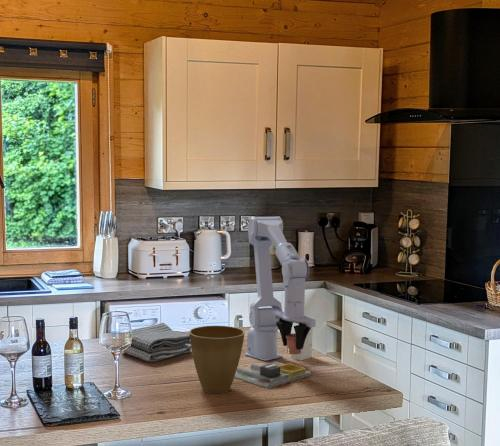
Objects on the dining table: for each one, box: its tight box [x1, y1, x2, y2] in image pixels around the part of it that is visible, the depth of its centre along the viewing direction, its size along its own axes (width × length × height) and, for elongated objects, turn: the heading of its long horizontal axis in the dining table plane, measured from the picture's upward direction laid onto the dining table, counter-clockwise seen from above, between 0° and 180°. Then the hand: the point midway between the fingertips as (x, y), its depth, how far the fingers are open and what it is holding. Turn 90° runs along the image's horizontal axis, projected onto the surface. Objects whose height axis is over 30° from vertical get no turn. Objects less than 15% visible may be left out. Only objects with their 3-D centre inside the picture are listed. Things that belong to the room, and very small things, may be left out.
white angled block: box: [291, 327, 314, 361], centre depth 237 cm, size 4×10×9 cm, turn 141°
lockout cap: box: [286, 332, 301, 355], centre depth 217 cm, size 5×5×5 cm
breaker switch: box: [260, 363, 280, 378], centre depth 212 cm, size 4×4×3 cm
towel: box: [122, 322, 192, 363], centre depth 237 cm, size 15×18×8 cm
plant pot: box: [188, 325, 246, 394], centre depth 204 cm, size 15×15×16 cm
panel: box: [234, 360, 312, 389], centre depth 217 cm, size 14×18×2 cm
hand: (293, 347), depth 217 cm, fingers closed on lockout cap, 4 cm apart
